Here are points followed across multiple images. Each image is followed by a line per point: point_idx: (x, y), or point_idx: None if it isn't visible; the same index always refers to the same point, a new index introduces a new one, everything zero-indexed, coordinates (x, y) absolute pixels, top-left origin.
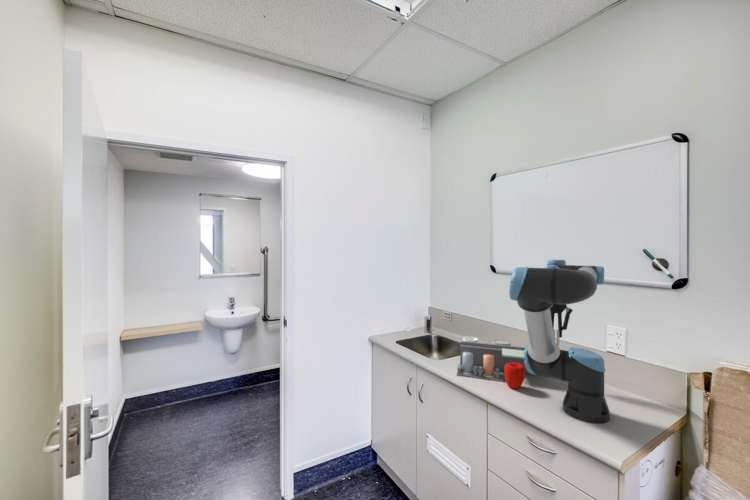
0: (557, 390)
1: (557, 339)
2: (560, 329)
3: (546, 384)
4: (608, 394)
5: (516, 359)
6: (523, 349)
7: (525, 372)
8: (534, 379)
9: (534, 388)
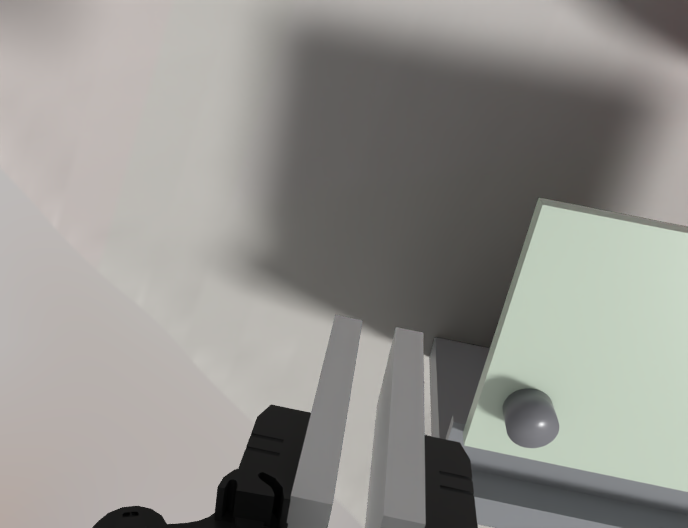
0: (431, 32)
1: (353, 373)
2: (257, 522)
3: (475, 151)
4: (45, 29)
5: None
6: (627, 515)
7: None
8: None
9: (627, 39)
